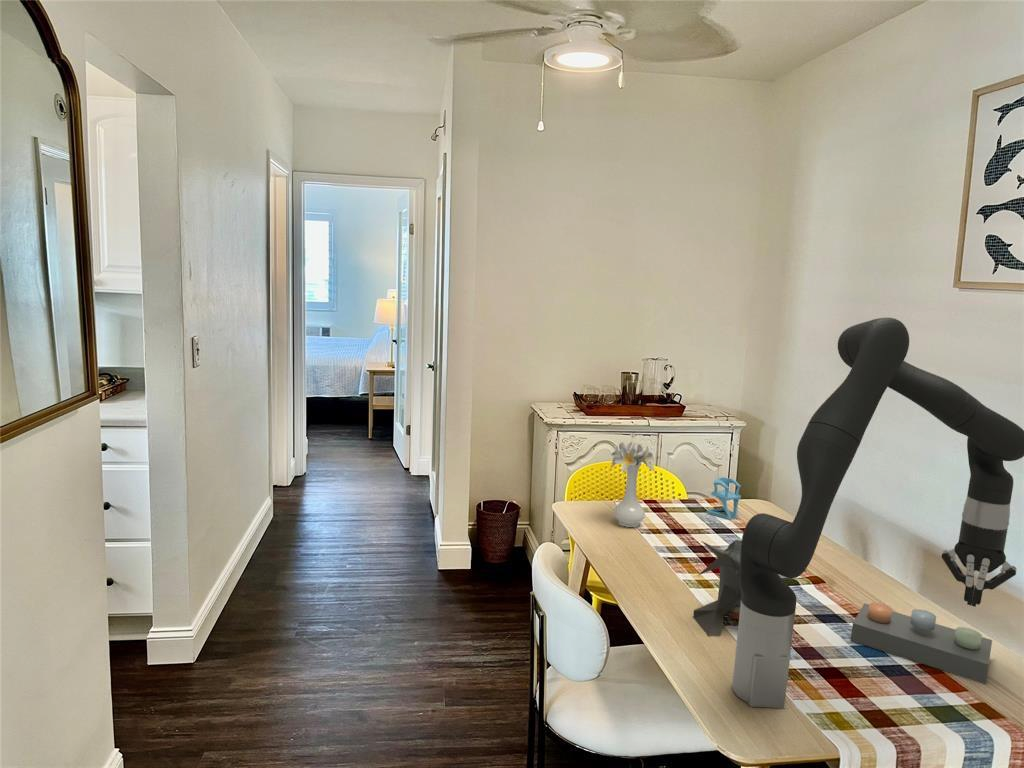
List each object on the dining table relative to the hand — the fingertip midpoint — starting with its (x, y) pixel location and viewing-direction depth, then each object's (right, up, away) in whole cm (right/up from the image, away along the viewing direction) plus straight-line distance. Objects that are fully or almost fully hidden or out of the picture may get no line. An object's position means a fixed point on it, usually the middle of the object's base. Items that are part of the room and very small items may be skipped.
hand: (971, 604), depth 140 cm
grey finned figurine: (-44, -9, +16) cm, 47 cm away
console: (-7, -12, +7) cm, 15 cm away
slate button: (-6, -6, +6) cm, 11 cm away
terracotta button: (-13, -6, +11) cm, 18 cm away
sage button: (0, -8, +1) cm, 9 cm away
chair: (-24, +2, +85) cm, 88 cm away
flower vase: (-57, +1, +73) cm, 93 cm away
